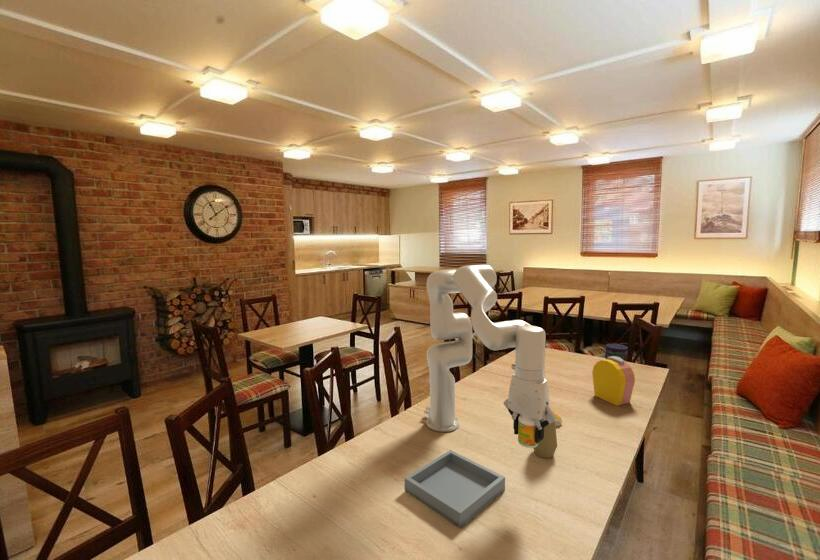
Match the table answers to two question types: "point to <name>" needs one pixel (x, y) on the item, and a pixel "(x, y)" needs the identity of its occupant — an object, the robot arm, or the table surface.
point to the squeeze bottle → (547, 441)
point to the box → (455, 487)
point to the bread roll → (558, 421)
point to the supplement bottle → (526, 431)
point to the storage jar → (616, 351)
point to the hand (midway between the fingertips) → (528, 436)
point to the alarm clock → (613, 380)
